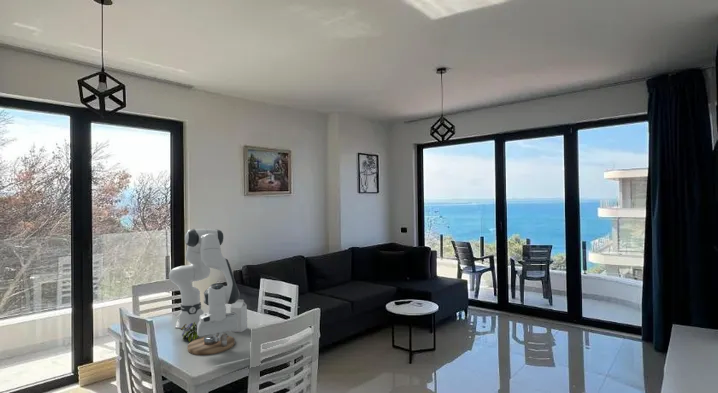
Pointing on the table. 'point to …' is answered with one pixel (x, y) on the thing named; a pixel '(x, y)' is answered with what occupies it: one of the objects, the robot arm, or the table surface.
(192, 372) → the table surface
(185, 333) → the passion flower
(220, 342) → the turntable
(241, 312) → the milk carton
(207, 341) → the pot lid
